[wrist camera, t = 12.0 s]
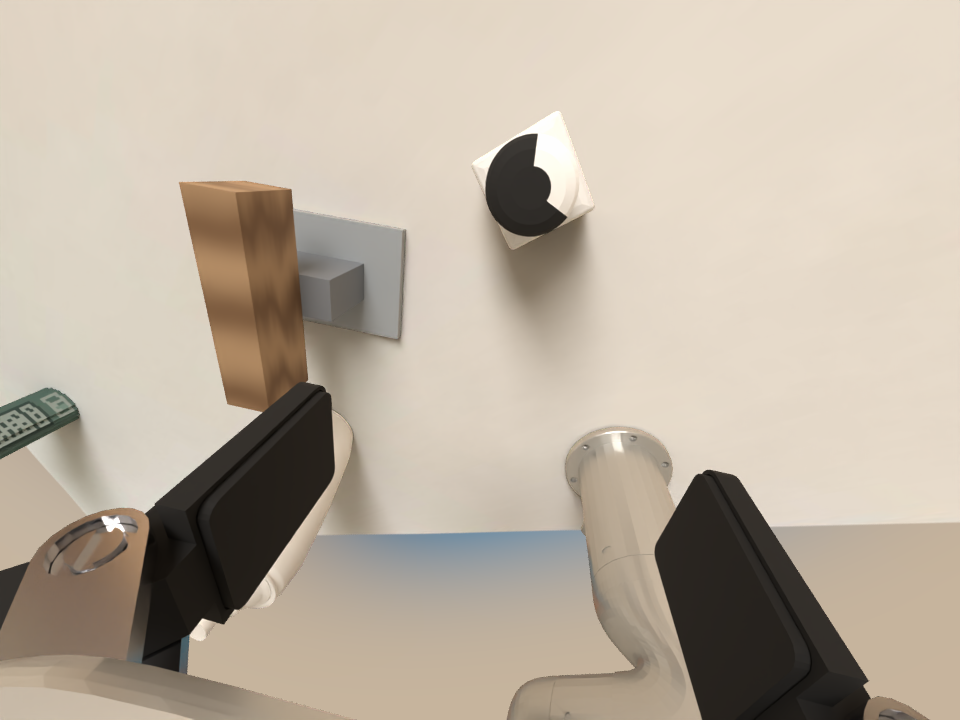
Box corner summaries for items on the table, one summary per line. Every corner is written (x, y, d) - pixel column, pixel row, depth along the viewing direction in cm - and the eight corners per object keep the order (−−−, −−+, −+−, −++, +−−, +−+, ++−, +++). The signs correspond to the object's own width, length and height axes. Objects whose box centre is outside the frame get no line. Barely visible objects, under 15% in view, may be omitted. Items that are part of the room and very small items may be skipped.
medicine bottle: (516, 238, 36) (504, 265, 25) (483, 165, 33) (455, 161, 23) (586, 202, 33) (606, 215, 23) (556, 121, 31) (563, 93, 20)
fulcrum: (400, 335, 43) (372, 367, 36) (256, 306, 44) (201, 331, 37) (405, 229, 37) (373, 241, 30) (240, 199, 38) (172, 204, 31)
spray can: (344, 389, 48) (172, 575, 25) (386, 450, 51) (268, 658, 29) (280, 414, 51) (82, 594, 29) (324, 469, 55) (177, 666, 33)
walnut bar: (308, 380, 38) (269, 413, 32) (271, 372, 38) (227, 404, 32) (291, 189, 29) (235, 192, 24) (244, 181, 29) (179, 182, 24)
